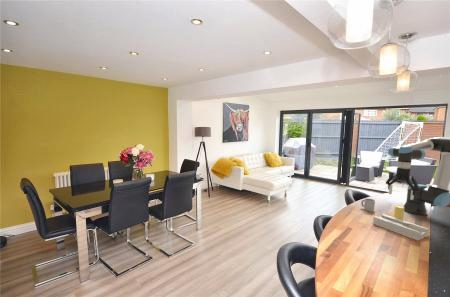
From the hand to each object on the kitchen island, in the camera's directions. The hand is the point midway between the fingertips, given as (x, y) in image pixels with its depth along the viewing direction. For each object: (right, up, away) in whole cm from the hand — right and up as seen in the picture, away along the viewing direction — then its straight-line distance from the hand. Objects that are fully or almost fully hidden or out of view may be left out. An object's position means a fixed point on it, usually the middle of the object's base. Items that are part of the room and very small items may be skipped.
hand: (400, 196), depth 162 cm
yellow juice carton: (0, -20, +2) cm, 20 cm away
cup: (-7, -17, +28) cm, 33 cm away
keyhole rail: (-8, -21, -9) cm, 24 cm away
